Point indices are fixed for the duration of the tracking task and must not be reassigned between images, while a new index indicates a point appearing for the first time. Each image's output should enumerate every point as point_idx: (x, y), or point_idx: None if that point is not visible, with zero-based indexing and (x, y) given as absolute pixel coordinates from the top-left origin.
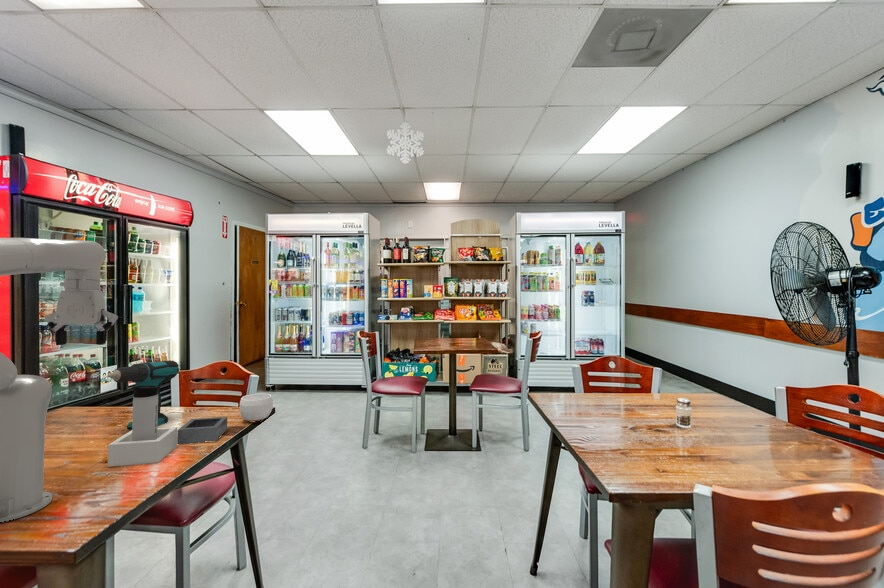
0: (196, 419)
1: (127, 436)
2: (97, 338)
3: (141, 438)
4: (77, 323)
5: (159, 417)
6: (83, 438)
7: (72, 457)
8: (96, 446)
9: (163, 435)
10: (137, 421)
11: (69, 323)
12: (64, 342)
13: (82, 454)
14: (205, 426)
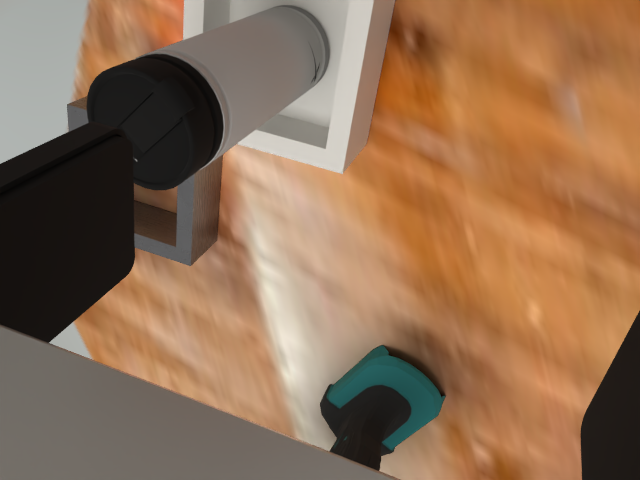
0: (171, 249)
1: (336, 85)
2: (52, 160)
3: (266, 14)
4: (101, 380)
5: (341, 410)
6: (575, 369)
7: (562, 157)
8: (504, 248)
9: (194, 22)
10: (248, 33)
11: (352, 476)
12: (601, 406)
13: (533, 176)
14: (156, 221)
